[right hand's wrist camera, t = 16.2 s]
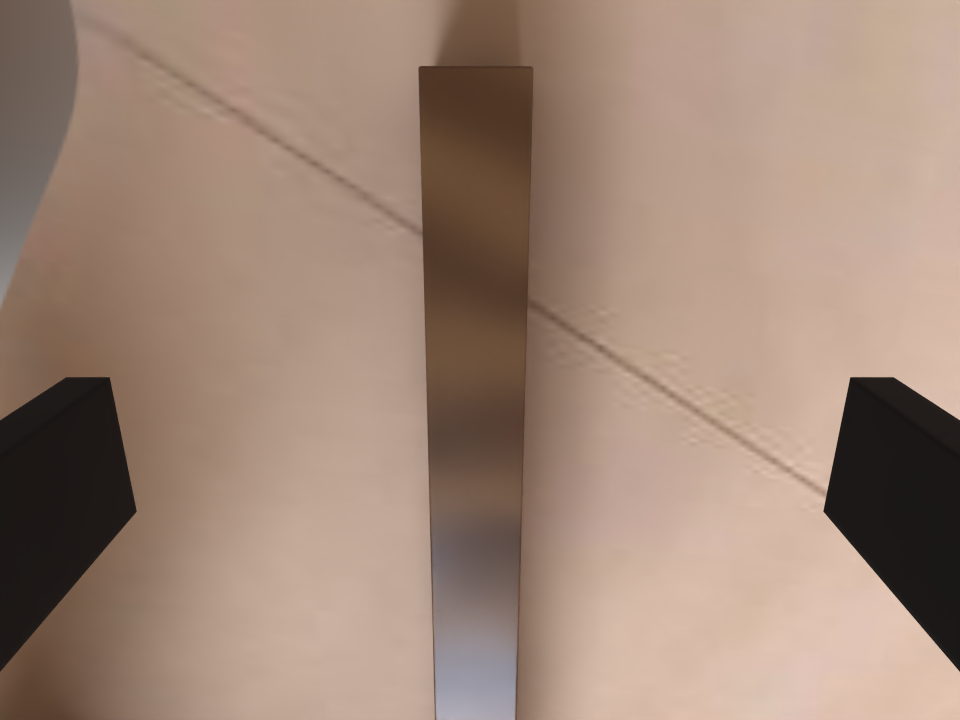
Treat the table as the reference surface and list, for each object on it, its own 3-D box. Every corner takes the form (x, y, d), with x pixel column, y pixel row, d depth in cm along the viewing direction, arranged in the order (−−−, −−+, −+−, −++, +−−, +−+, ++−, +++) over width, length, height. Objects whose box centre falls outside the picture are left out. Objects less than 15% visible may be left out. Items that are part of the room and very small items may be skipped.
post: (430, 77, 33) (418, 65, 26) (521, 77, 33) (533, 66, 26) (447, 912, 53) (442, 1031, 46) (504, 912, 53) (508, 1031, 46)
